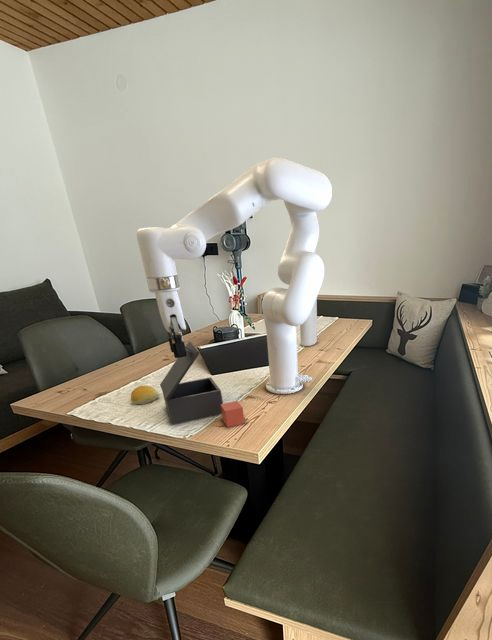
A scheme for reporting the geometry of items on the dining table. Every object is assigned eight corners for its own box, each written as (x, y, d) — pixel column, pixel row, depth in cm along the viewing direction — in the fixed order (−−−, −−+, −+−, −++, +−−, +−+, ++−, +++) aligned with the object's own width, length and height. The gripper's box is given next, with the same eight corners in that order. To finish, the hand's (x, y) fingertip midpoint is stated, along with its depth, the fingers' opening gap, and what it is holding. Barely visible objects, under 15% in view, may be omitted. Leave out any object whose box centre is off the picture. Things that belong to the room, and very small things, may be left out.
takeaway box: (214, 398, 116) (210, 377, 112) (224, 413, 106) (220, 390, 103) (166, 408, 111) (161, 386, 107) (172, 424, 101) (166, 401, 97)
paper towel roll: (299, 346, 163) (298, 296, 152) (301, 342, 168) (300, 294, 157) (315, 346, 162) (315, 296, 151) (316, 342, 167) (316, 294, 156)
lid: (191, 342, 105) (176, 331, 102) (200, 352, 95) (183, 341, 92) (161, 385, 107) (146, 377, 104) (167, 400, 97) (150, 391, 94)
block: (239, 416, 104) (237, 400, 102) (244, 423, 100) (242, 407, 98) (222, 420, 102) (220, 404, 100) (227, 427, 98) (224, 411, 96)
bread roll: (131, 407, 112) (128, 395, 110) (132, 396, 120) (129, 385, 118) (158, 402, 115) (156, 390, 113) (158, 392, 122) (155, 381, 120)
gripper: (184, 286, 84) (199, 360, 94) (173, 279, 98) (186, 344, 107) (152, 289, 82) (169, 365, 91) (145, 282, 95) (161, 348, 105)
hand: (178, 353), depth 99 cm, fingers closed on lid, 5 cm apart
